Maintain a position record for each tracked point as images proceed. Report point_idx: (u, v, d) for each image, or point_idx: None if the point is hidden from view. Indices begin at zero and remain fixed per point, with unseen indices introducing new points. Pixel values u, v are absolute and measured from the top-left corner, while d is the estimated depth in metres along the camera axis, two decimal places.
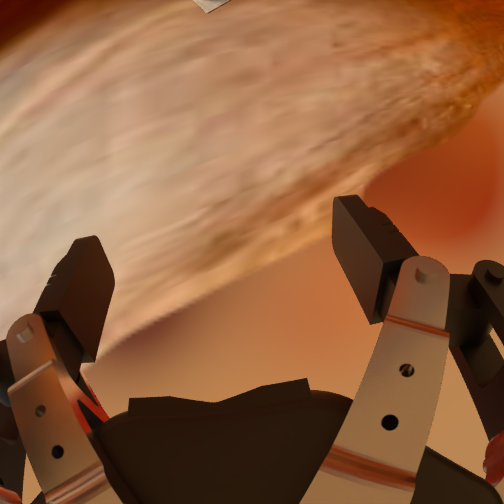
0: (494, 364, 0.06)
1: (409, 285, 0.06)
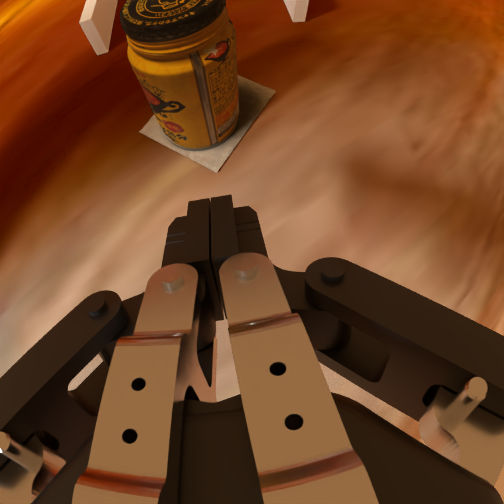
0: (374, 351, 0.07)
1: (235, 288, 0.07)
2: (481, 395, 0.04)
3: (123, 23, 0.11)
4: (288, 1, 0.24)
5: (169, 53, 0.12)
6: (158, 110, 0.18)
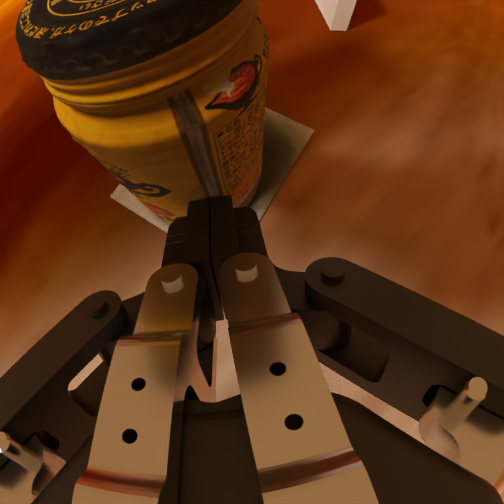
0: (374, 351, 0.07)
1: (236, 288, 0.07)
2: (481, 395, 0.04)
3: (16, 38, 0.04)
4: (323, 0, 0.16)
5: (118, 101, 0.05)
6: (126, 187, 0.10)
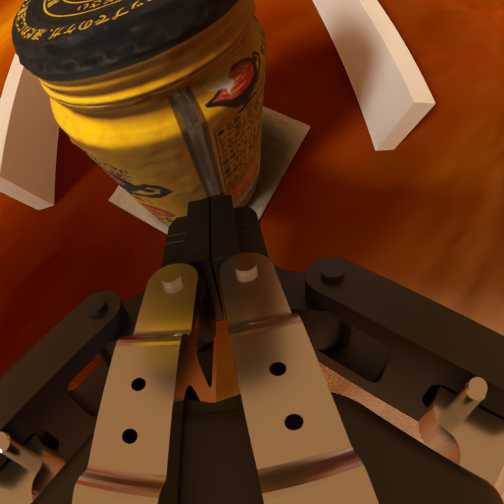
0: (374, 351, 0.07)
1: (235, 288, 0.07)
2: (481, 395, 0.04)
3: (13, 41, 0.04)
4: (369, 105, 0.15)
5: (119, 101, 0.05)
6: (126, 189, 0.10)
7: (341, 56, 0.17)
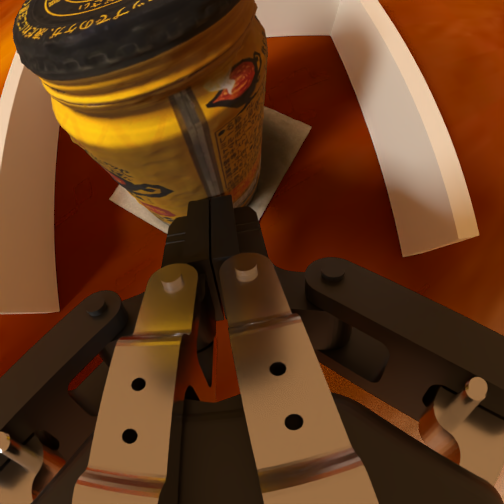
0: (374, 351, 0.07)
1: (236, 288, 0.07)
2: (481, 395, 0.04)
3: (14, 40, 0.04)
4: (402, 208, 0.14)
5: (120, 101, 0.05)
6: (126, 189, 0.10)
7: (372, 134, 0.16)
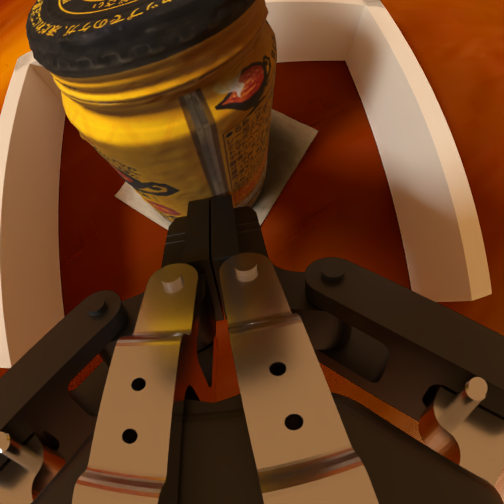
0: (374, 351, 0.07)
1: (236, 288, 0.07)
2: (481, 395, 0.04)
3: (27, 36, 0.04)
4: (416, 255, 0.14)
5: (131, 100, 0.05)
6: (133, 186, 0.10)
7: (388, 174, 0.15)
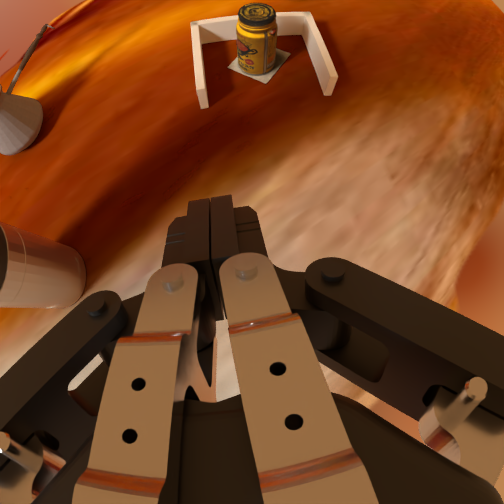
0: (374, 351, 0.07)
1: (236, 288, 0.07)
2: (481, 395, 0.04)
3: (241, 18, 0.34)
4: (321, 80, 0.44)
5: (257, 30, 0.36)
6: (244, 53, 0.41)
7: (313, 64, 0.46)
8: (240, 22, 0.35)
